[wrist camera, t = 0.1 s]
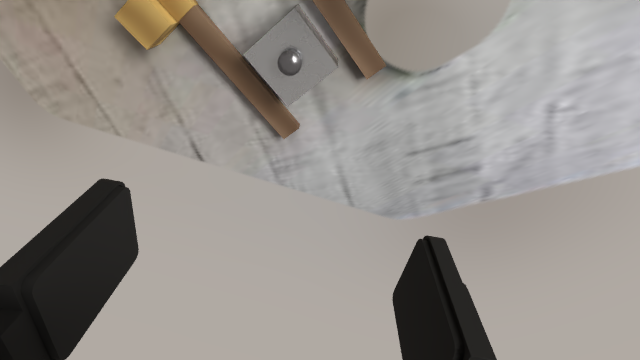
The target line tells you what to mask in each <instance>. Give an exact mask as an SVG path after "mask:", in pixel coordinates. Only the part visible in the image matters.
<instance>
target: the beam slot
mask: <svg viewBox="0 0 640 360" xmlns="http://www.w3.org/2000/svg"><path fill="white" fill-rule="evenodd" d="M313 2H314V3H315V5H316V6H317V8H318V9H319V10H320V12H321V13H322V15H323V16H324V18H325V19H326V21H327V22H328V24H329V25H330V26H331V28H332V29H333V31H334V32H335V34H336V35H337V37H338V38H339V40H340V41H341V42H342V44H343V45H344V47H345V48H346V50H347V51H348V53H349V54H350V56H351V57H352V58H353V60H354V61H355V63H356V64H357V66H358V67H359V69H360V70H361V72H362V73H363V74H364V76H365V77H366V79H368V78H370V77H371V76H372V75H374V74H375V73H377V72H378V71H379V70H381V69H382V68H383V67H385V66H386V65H385V63H384V61H383V60H382V58H381V57H380V55H379V53H378V52H377V50H376V49H375V47H374V46H373V44H372V43H371V41H370V40H369V38H368V36H367V35H366V33H365V32H364V30H363V29H362V27H361V26H360V24H359V22H358V21H357V19H356V18H355V16H354V15H353V13H352V12H351V10H350V9H349V7H348V5H347V4H346V2H345V1H344V0H313ZM114 17H115V18H116V19H117V20H118V21H119V22H120V23H121V24H122V25H123V26H124V27H125V28H126V29H127V30H128V31H129V32H130V33H131V34H132V35H133V36H134V37H135V38H136V39H137V40H138V41H139V42H140V43H141V44H142V45H143V46H144V47H145V48H146V49H147V50H148V49H150V48H153V47H155V46H157V45H159V44H161V43H162V42H163V40H164V39H165V38H166V37H167V36H168V35H169V34H170V33H171V32H172V31H173V30H174V29H175V28H176V27H177V26H178V25H179V24H181V25H182V26H183V27H184V28H185V29H186V31H187V32H188V33H189V34H190V35H191V36H192V37H193V38H194V39H195V41H196V42H197V43H198V44H199V45H200V46H201V47H202V48H203V49H204V51H205V52H206V53H207V54H208V55H209V56H210V57H211V58H212V60H213V61H214V62H215V63H216V64H217V65H218V66H219V67H220V68H221V70H222V71H223V72H224V73H225V74H226V75H227V76H228V77H229V79H230V80H231V81H232V82H233V83H234V84H235V85H236V86H237V87H238V89H239V90H240V91H241V92H242V93H243V94H244V95H245V96H246V97H247V99H248V100H249V101H250V102H251V103H252V104H253V105H254V106H255V108H256V109H257V110H258V111H259V112H260V113H261V114H262V115H263V116H264V118H265V119H266V120H267V121H268V122H269V123H270V124H271V125H272V127H273V128H274V129H275V130H276V131H277V132H278V133H279V134H280V135H281V137H282V138H283V139H285V138H286V137H287V136H289V135H290V134H292V133H293V132H294V131H296V130H297V129H299V126H300V124H299V123H298V122H297V120H296V119H295V118H294V117H293V116H292V114H291V113H290V112H289V111H288V110H287V109H286V107H285V106H284V105H283V104H282V103H281V102H280V100H279V99H278V98H277V97H276V96H275V94H274V93H273V92H272V91H271V90H270V89H269V87H268V86H267V85H266V84H265V83H264V81H263V80H262V79H261V78H260V77H259V76H258V74H257V73H256V72H255V71H254V70H253V68H252V67H251V66H250V65H249V64H248V63H247V61H246V60H245V59H244V58H243V57H242V56H241V54H240V53H239V52H238V51H237V50H236V48H235V47H234V46H233V45H232V44H231V43H230V41H229V40H228V39H227V38H226V37H225V35H224V34H223V33H222V32H221V31H220V30H219V28H218V27H217V26H216V25H215V24H214V22H213V21H212V20H211V19H210V18H209V17H208V15H207V14H206V13H205V12H204V11H203V10H202V8H201V7H200V6H199V5H198V3H197V2H196V1H195V0H128V1H127V2H126V3H125V5H124V6H123V7H122V8H121V9H120V10H119V12H118V13H117V14H116V15H115V16H114Z"/></svg>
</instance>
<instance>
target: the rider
mask: <svg viewBox="0 0 640 360" xmlns="http://www.w3.org/2000/svg"><path fill="white" fill-rule="evenodd" d="M243 55H244V56H245V58H246V59H247V60H248V61H249V62H250V63H251V65H252V66H253V67H254V68H255V69H256V70H257V72H258V73H259V74H260V75H261V76H262V77H263V79H264V80H265V81H266V82H267V83H268V84H269V86H270V87H271V88H272V89H273V90H274V91H275V93H276V94H277V95H278V96H279V97H280V98H281V100H282V101H283V102H284V103H285V104H286V105H287V107H288V106H289V105H290V104H292V103H293V102H294V101H296V100H297V99H298V98H299V97H301V96H302V95H303V94H305V93H306V92H307V91H308V90H310V89H311V88H312V87H314V86H315V85H316V84H317V83H319V82H320V81H321V80H323V79H324V78H325V77H326V76H328V75H329V74H330V73H332V72H333V71H334V70H335V69H337V68H338V58H337V57H336V56H335V54H334V53H333V52H332V50H331V49H330V47H329V46H328V45H327V43H326V42H325V40H324V39H323V38H322V36H321V35H320V34H319V32H318V31H317V29H316V28H315V27H314V25H313V24H312V23H311V21H310V20H309V18H308V17H307V16H306V14H305V13H304V11H303V10H302V9H301V7H300V6H299V5H297V6H296V7H295V8H294V9H293V10H291V11H290V12H289V13H288V14H287V15H286V16H285V17H284V18H283V19H282V20H280V21H279V22H278V23H277V24H276V25H275V26H274V27H273V28H272V29H271V30H269V31H268V32H267V33H266V34H265V35H264V36H263V37H262V38H261V39H260V40H258V41H257V42H256V43H255V44H254V45H253V46H252V47H251V48H250V49H249V50H248V51H246V52H245V53H244V54H243Z"/></svg>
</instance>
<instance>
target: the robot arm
mask: <svg viewBox="0 0 640 360" xmlns="http://www.w3.org/2000/svg"><path fill="white" fill-rule="evenodd" d="M137 255H138V242H137V236H136V229H135V222H134V215H133V208H132V202H131V194H130V190H129V188H127V187H125V184H124V183H123V182H120V181H114V180H109V179H100V180H99V181H97V182H96V183H95V184H94V185H93V186H92V187H91V188H89V190H87V191H86V192H85V193H84V194H83V195H82V196H80V197H79V198H78V199H77V200H76V201H75V202H74V203H72V204H71V205H70V206H69V207H68V208H67V209H66V210H65V211H64V212H62V213H61V214H60V215H59V216H58V217H57V218H55V219H54V220H53V221H52V222H51V223H50V224H49V225H47V226H46V227H45V228H44V229H43V230H42V231H41V232H40V233H38V234H37V235H36V236H35V237H34V238H33V239H32V240H31V241H30V242H28V243H27V244H26V245H25V246H24V247H23V248H21V250H19V251H18V252H17V253H16V254H15V255H14V256H12V257H11V258H10V259H9V260H8V261H7V262H6V263H5V264H3V265H2V266H1V267H0V360H65V359H66V358H67V357H68V356H69V355H70V354H71V352H72V351H73V349H74V348H75V347H76V345H77V344H78V342H79V341H80V339H81V338H82V337H83V335H84V334H85V332H86V331H87V329H88V328H89V326H90V325H91V324H92V322H93V321H94V319H95V318H96V316H97V315H98V313H99V312H100V311H101V309H102V307H103V306H104V304H105V303H106V302H107V300H108V299H109V298H110V296H111V295H112V293H113V292H114V290H115V289H116V287H117V286H118V284H119V283H120V282H121V280H122V279H123V277H124V276H125V274H126V273H127V271H128V270H129V269H130V267H131V266H132V264H133V263H134V261H135V260H136V258H137ZM393 306H394V311H395V318H396V324H397V329H398V335H399V341H400V347H401V353H402V359H403V360H497V359H496V357H495V354H494V352H493V349H492V347H491V345H490V342H489V340H488V337H487V335H486V332H485V330H484V328H483V325H482V323H481V320H480V318H479V315H478V313H477V311H476V308H475V306H474V303H473V301H472V298H471V296H470V294H469V291H468V289H467V287H466V285H465V284H464V283H462V280H461V278H460V275H459V273H458V270H457V268H456V265H455V263H454V261H453V258H452V256H451V253H450V251H449V248H448V246H447V243H446V241H445V240H444V239H443V238H438V237H432V236H425V237H424V238H423V239H419V240H418V241H417V243H416V245H415V247H414V249H413V252H412V254H411V256H410V258H409V260H408V262H407V264H406V267H405V269H404V271H403V273H402V275H401V277H400V279H399V281H398V284H397V285H396V288H395V290H394V293H393Z"/></svg>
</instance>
